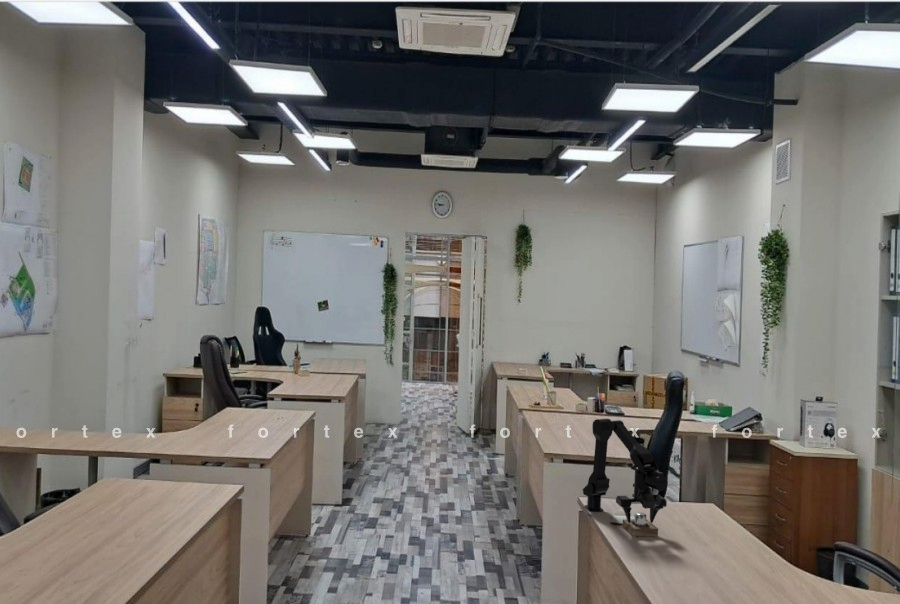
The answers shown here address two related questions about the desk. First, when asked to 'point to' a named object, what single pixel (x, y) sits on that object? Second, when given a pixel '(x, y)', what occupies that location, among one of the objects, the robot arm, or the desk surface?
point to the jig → (640, 529)
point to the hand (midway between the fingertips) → (640, 522)
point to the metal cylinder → (640, 519)
